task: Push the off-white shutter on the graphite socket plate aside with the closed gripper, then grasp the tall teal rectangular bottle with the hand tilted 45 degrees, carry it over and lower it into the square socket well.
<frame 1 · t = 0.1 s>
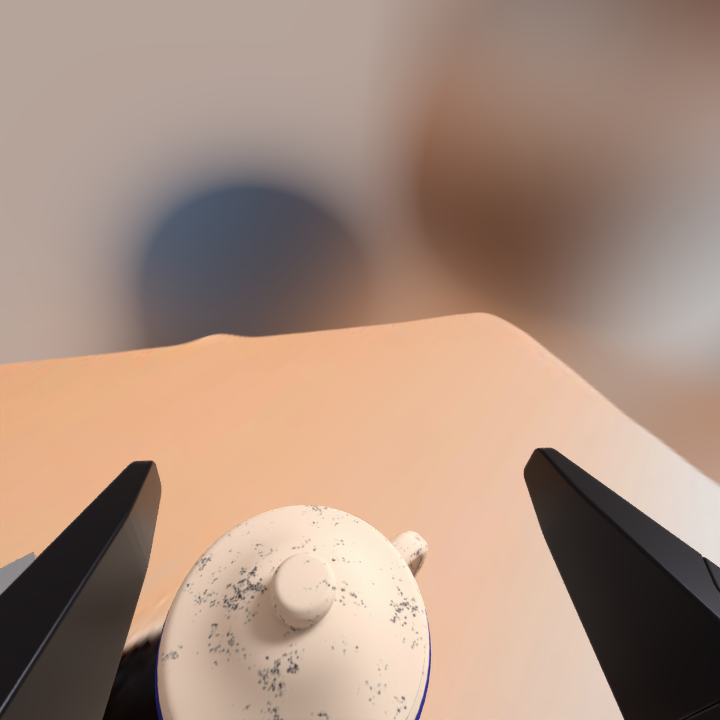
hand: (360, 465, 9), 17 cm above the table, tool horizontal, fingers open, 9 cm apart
teacup with lid: (319, 678, 20), on the table
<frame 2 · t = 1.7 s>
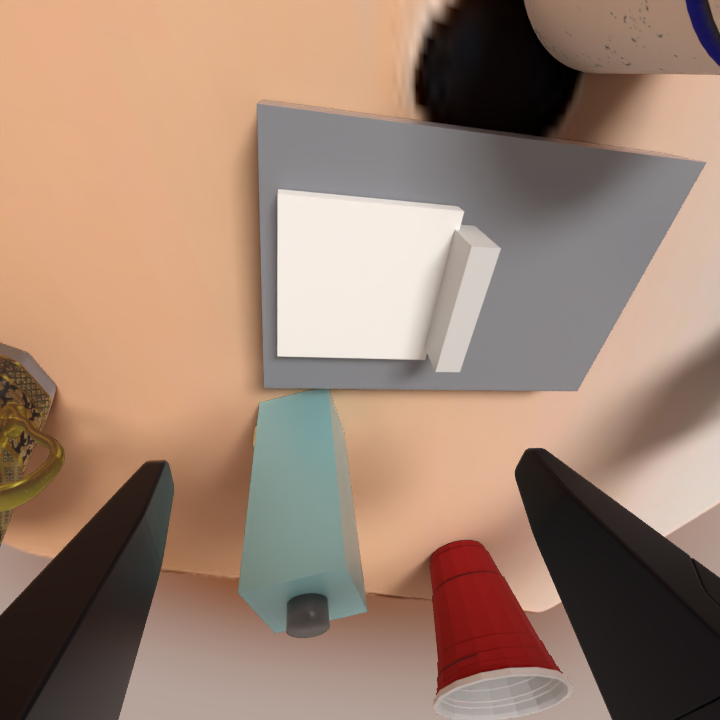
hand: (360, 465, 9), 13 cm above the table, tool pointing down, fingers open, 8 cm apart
ceramic cup: (15, 373, 22), on the table
socket plate: (437, 266, 21), on the table
shutter: (376, 296, 17), point 4 cm above the table, slide at 0.0 cm
plastic cup: (454, 553, 40), on the table
teal rectangular bottle: (303, 418, 27), on the table
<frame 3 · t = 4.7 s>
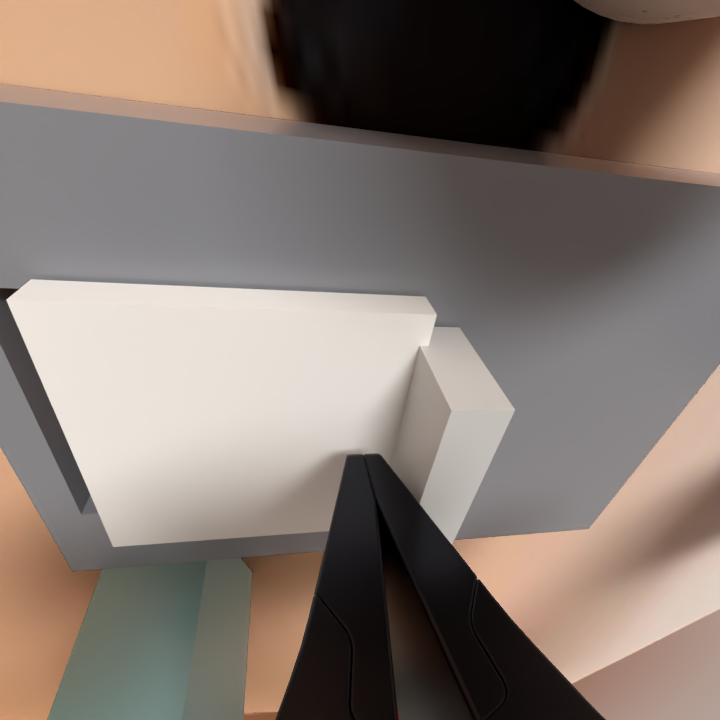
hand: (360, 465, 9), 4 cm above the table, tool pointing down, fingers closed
socket plate: (361, 364, 13), on the table
shutter: (271, 467, 9), point 4 cm above the table, slide at 1.3 cm, touching gripper
teal rectangular bottle: (185, 563, 18), on the table
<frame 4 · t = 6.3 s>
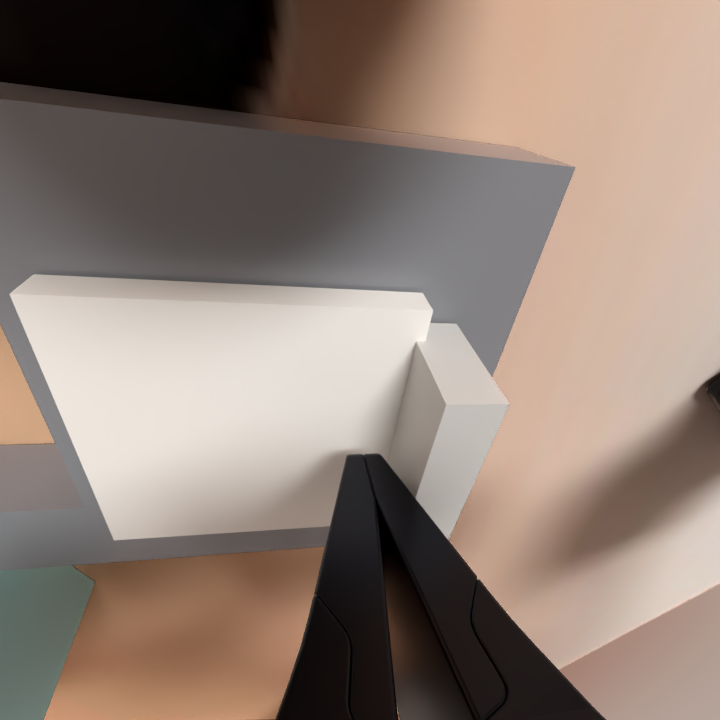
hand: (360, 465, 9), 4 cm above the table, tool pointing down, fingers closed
socket plate: (125, 358, 12), on the table
shutter: (269, 461, 9), point 4 cm above the table, slide at 8.2 cm, touching gripper
teal rectangular bottle: (11, 572, 17), on the table
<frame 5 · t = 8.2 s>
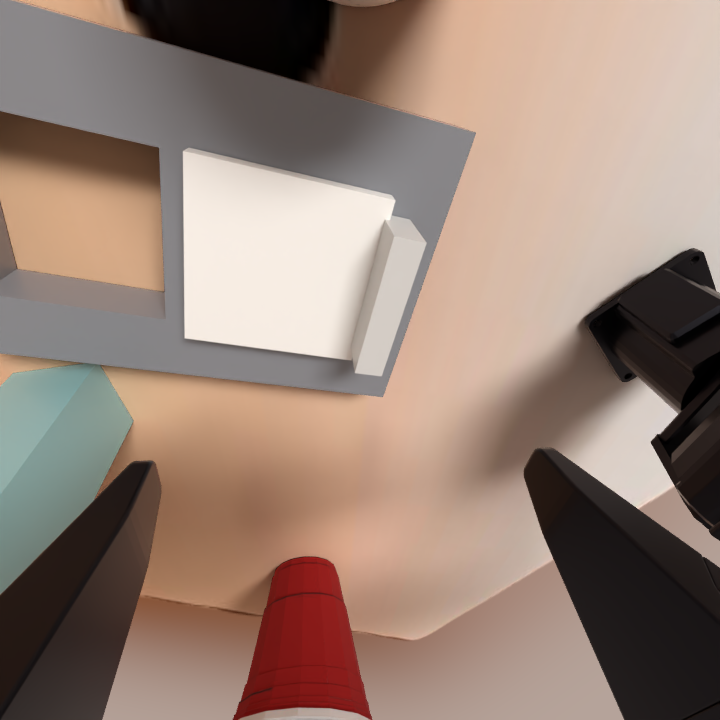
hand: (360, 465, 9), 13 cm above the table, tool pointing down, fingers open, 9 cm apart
socket plate: (202, 229, 18), on the table
shutter: (294, 282, 16), point 4 cm above the table, slide at 8.3 cm
plastic cup: (302, 569, 37), on the table
teal rectangular bottle: (77, 398, 23), on the table
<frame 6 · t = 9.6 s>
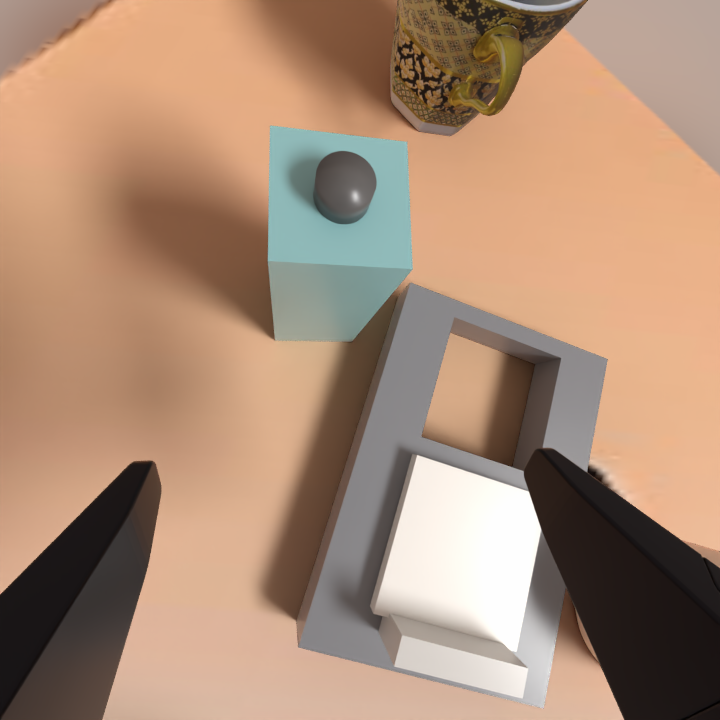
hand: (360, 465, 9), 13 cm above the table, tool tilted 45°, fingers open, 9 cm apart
ceramic cup: (433, 114, 28), on the table
socket plate: (456, 469, 24), on the table
teacup with lid: (649, 604, 25), on the table
shutter: (469, 566, 19), point 4 cm above the table, slide at 8.3 cm
teal rectangular bottle: (313, 304, 24), on the table
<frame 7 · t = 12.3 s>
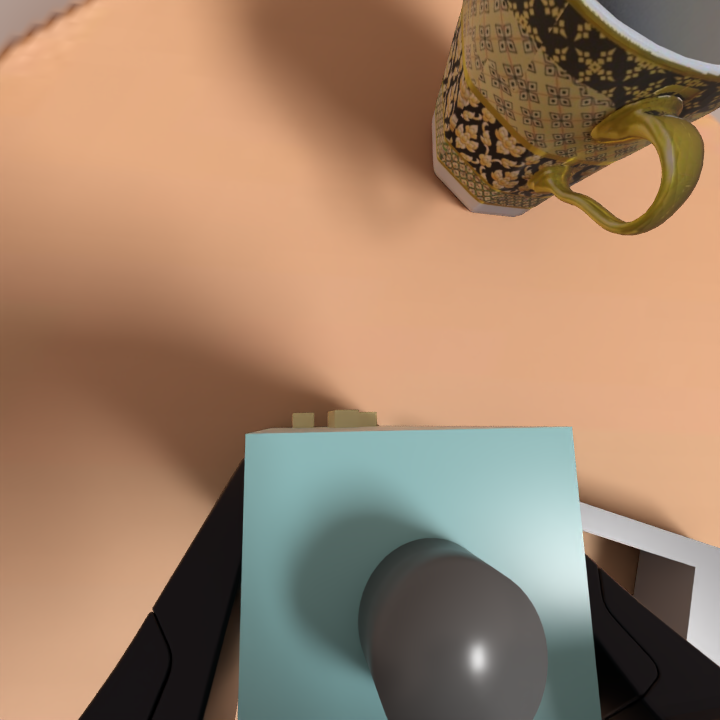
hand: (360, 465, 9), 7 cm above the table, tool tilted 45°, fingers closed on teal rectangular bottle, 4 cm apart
ceramic cup: (489, 186, 20), on the table
teal rectangular bottle: (327, 483, 16), on the table, touching gripper
when the fingers open (8 cm above the table, at t = 16.0 s): teal rectangular bottle stays where it is, resting in socket plate.
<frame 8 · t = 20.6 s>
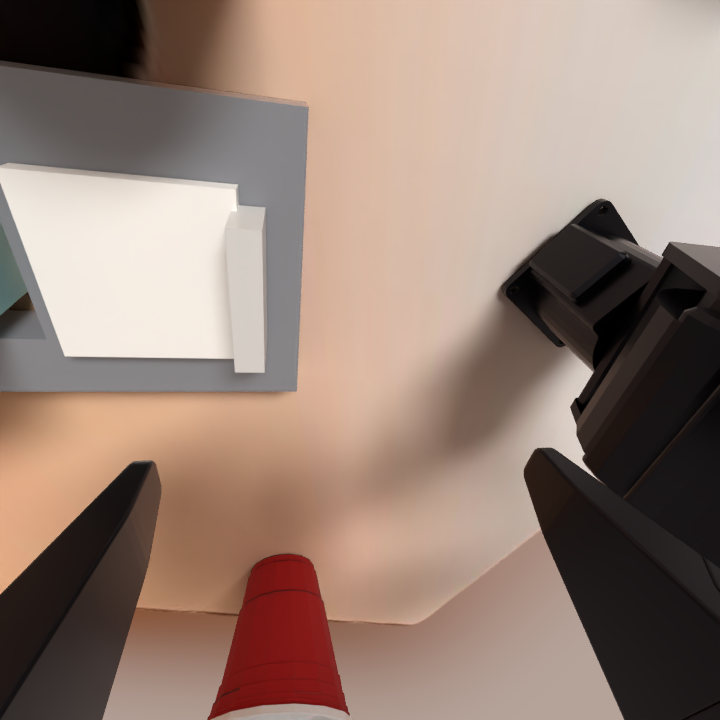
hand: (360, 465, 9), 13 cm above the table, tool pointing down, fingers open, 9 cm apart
socket plate: (73, 243, 18), on the table
shutter: (152, 288, 15), point 4 cm above the table, slide at 8.3 cm
plastic cup: (280, 567, 37), on the table
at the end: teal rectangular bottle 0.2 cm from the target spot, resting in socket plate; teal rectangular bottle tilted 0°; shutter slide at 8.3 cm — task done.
